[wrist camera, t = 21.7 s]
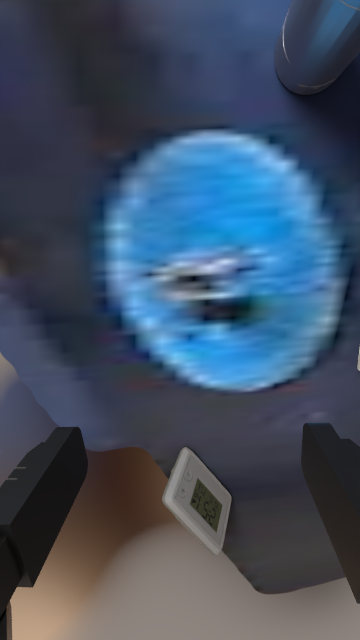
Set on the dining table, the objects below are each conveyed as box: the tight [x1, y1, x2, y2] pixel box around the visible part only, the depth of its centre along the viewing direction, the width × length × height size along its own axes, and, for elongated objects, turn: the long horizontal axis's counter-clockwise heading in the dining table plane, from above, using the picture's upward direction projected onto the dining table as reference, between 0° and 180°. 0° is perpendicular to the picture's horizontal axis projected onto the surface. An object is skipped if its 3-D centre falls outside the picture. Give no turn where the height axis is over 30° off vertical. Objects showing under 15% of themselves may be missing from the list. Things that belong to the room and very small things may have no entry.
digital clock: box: [162, 447, 231, 555], centre depth 51 cm, size 16×9×11 cm, turn 26°
